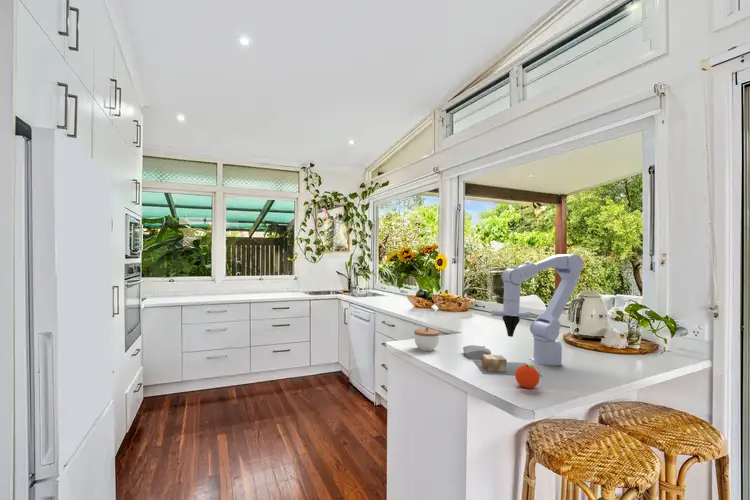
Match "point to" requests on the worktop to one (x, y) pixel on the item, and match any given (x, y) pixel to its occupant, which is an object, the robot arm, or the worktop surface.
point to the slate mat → (510, 370)
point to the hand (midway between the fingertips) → (510, 336)
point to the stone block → (475, 351)
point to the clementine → (527, 376)
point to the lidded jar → (426, 339)
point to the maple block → (494, 362)
